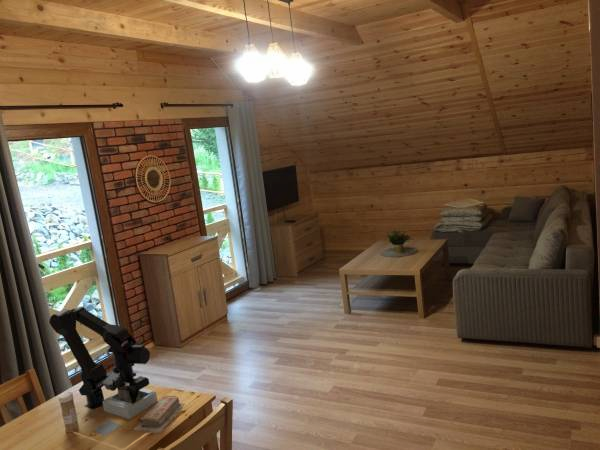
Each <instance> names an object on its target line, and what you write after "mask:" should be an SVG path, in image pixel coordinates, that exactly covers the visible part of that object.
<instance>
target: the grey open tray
mask: <svg viewBox="0 0 600 450" xmlns="http://www.w3.org/2000/svg"><path fill="white" fill-rule="evenodd" d="M139 395H140V400H139V401H138V402H136V403H134V404H133V405H132V404H131V403H128V402H124V401H121V400H119V395H118V392H116V393H115V394H113V395H111V396H108V397H107V398H104V401H102V402H103V405H102V406H103V411H104V412H105V413H108V414H112V415H116V416H118V417H122V418H124V419H128V420H130V419H133V418H134V417H135V416H137V415H138V414H140V413H142V412H143V411H144V410H146V409H148V408H149V407H151V406H152V405H154V404H156V403H157V402H158V396H157V391H156V390H152V389H148V388H145V387H144V388H142V389H140V390H139Z"/></svg>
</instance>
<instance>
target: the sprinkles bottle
mask: <svg viewBox="0 0 600 450" xmlns="http://www.w3.org/2000/svg"><path fill="white" fill-rule="evenodd" d="M58 402H59V403H60V408H61V414H62V419H63V423H64V427H65V432H66V433H67V434H68V433H73V432H75V431H76V430H78V428H79V427H80V425H79V422H78V421H79V420H78V416H77V410H76V406H75V402H74V394H73V392H72V391H65V392H63V393H61V394H60V395H58Z"/></svg>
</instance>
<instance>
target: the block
mask: <svg viewBox="0 0 600 450" xmlns="http://www.w3.org/2000/svg"><path fill="white" fill-rule="evenodd" d="M128 387H129V384H126V385H124V386H122V387H120V388H119V389H116V390H117V393H118V395H119V400H121V401H124V402H128V403H131V404H132V405H133V404H134V403H133V402H132V400H131V396H130V393H129V391H127V390H126V389H127V388H128ZM139 400H140V395H139V392H138V395H137V399H136V402H138V401H139ZM136 402H135V403H136Z"/></svg>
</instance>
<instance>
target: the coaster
mask: <svg viewBox="0 0 600 450" xmlns="http://www.w3.org/2000/svg"><path fill="white" fill-rule="evenodd" d="M121 426H122V424H120V423H117V422H114V421H111V420H107V421H106V422H105V423H103V424H101V425H99V426H98V427H95V429H93V430H92V431H91V432H92V433H96V434H98V435H100V436H107V435H108V434H110V433H112V432H113V431H114V430H116V429H118V428H119V427H121Z"/></svg>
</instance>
